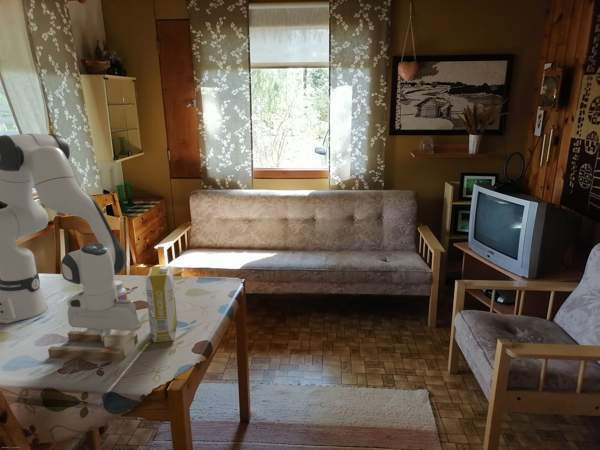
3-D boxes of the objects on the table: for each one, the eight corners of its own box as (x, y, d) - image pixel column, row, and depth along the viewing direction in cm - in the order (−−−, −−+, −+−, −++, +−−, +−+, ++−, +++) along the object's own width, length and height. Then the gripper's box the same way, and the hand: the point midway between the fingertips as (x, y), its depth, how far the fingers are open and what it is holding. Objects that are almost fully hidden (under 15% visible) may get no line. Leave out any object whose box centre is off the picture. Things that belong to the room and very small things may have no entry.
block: (106, 355, 129) (103, 337, 127) (116, 345, 135) (114, 327, 133) (125, 357, 128) (123, 338, 127) (134, 346, 134) (132, 328, 133)
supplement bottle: (122, 321, 152) (117, 287, 149) (105, 319, 154) (100, 285, 150) (132, 312, 159) (129, 280, 155) (116, 311, 160) (112, 278, 157)
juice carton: (176, 342, 139) (170, 272, 133) (150, 344, 137) (143, 273, 131) (178, 328, 148) (172, 261, 141) (154, 330, 146) (147, 263, 140)
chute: (50, 361, 128) (47, 348, 127) (72, 342, 139) (70, 330, 138) (121, 365, 126) (119, 352, 125) (138, 345, 137) (137, 333, 136)
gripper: (139, 295, 129) (143, 337, 133) (74, 292, 131) (80, 333, 135) (129, 305, 123) (134, 348, 127) (61, 301, 125) (68, 343, 129)
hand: (106, 340), depth 131 cm, fingers closed
